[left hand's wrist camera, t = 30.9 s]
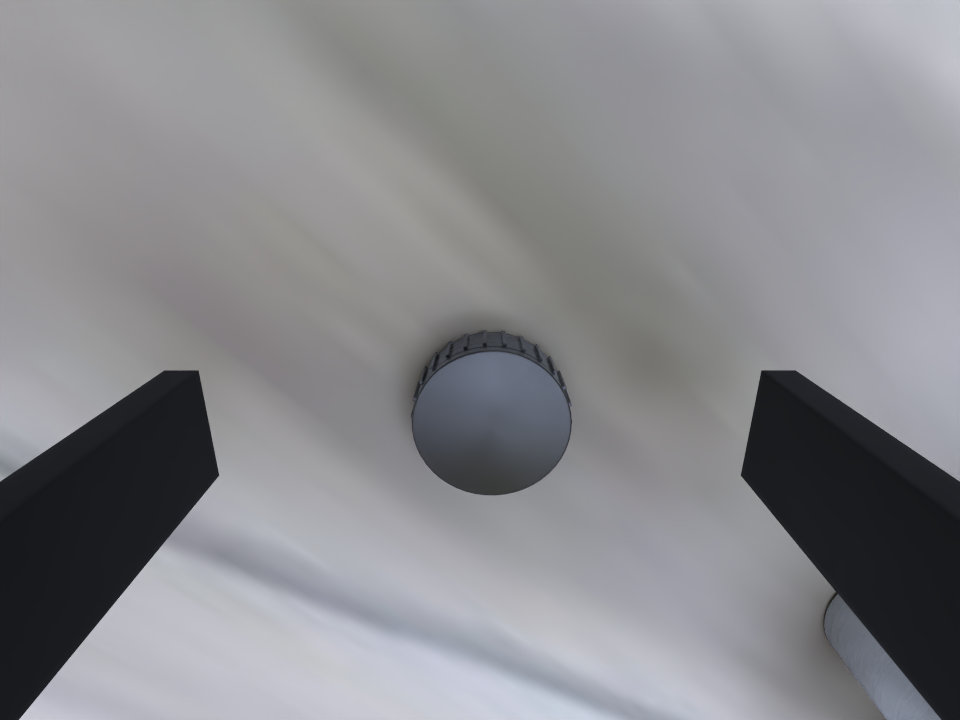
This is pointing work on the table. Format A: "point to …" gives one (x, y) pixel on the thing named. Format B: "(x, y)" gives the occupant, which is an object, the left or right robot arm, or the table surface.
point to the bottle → (873, 666)
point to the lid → (491, 414)
